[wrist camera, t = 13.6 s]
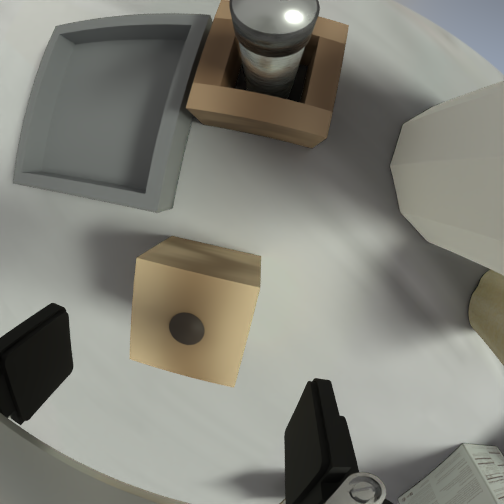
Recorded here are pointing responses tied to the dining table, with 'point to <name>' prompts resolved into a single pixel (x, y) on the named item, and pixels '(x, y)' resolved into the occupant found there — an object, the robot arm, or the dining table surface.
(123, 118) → the tray
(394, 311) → the dining table surface
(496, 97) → the toilet paper
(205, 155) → the dining table surface
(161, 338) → the oak block
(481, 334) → the flower pot
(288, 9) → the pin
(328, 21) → the square wooden socket
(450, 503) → the supplement box
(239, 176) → the dining table surface
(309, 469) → the robot arm
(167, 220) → the dining table surface
